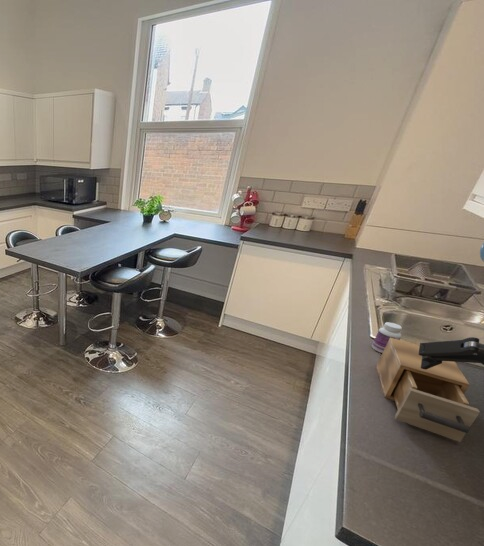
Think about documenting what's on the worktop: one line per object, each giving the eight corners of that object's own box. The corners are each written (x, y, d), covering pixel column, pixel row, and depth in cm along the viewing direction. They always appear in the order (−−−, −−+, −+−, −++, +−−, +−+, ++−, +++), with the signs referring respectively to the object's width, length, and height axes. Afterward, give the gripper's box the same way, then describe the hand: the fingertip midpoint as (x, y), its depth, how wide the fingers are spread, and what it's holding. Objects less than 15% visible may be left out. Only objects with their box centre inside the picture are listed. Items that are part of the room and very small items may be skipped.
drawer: (467, 457, 66) (489, 426, 63) (399, 431, 72) (415, 402, 69) (440, 402, 81) (457, 375, 77) (385, 385, 86) (398, 359, 83)
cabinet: (448, 418, 77) (469, 384, 73) (384, 397, 83) (400, 364, 79) (430, 383, 89) (448, 352, 85) (375, 367, 95) (389, 337, 91)
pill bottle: (392, 357, 100) (404, 331, 96) (370, 349, 104) (381, 324, 100) (393, 350, 103) (405, 325, 100) (372, 343, 107) (383, 319, 103)
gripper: (435, 344, 52) (385, 369, 69) (725, 414, 38) (574, 424, 55) (439, 304, 54) (390, 338, 71) (717, 358, 40) (574, 384, 57)
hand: (471, 376), depth 63 cm, fingers open, 13 cm apart
